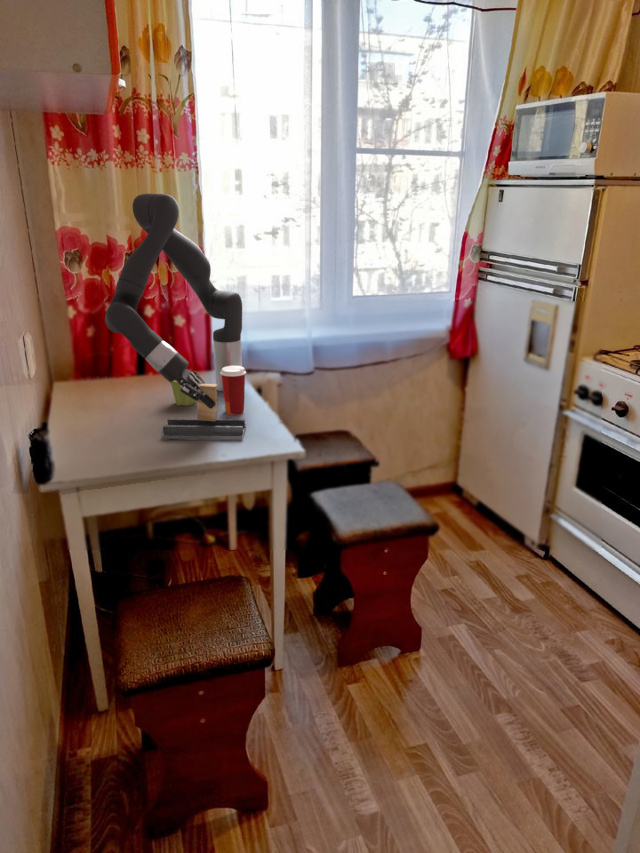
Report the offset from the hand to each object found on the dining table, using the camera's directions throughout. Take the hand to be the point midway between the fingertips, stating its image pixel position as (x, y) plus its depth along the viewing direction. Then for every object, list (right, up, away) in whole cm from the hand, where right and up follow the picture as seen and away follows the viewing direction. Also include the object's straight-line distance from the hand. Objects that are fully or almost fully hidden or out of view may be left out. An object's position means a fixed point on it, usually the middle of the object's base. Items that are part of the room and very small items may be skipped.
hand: (214, 404), depth 170 cm
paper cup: (+3, -2, +20) cm, 20 cm away
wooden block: (-2, -4, +2) cm, 5 cm away
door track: (-3, -8, +3) cm, 9 cm away
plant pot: (-14, +1, +27) cm, 31 cm away
